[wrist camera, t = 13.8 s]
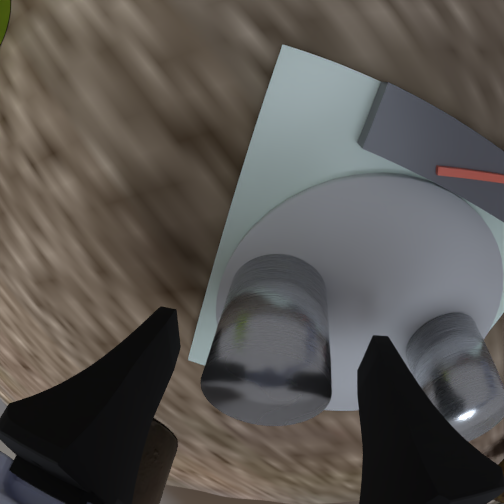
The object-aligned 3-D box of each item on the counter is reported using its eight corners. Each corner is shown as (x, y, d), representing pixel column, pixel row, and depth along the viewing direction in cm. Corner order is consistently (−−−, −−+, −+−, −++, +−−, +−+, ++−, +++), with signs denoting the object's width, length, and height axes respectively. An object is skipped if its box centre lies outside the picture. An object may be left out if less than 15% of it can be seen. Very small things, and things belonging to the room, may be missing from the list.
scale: (284, 47, 10) (280, 40, 8) (554, 198, 11) (580, 219, 9) (192, 350, 19) (180, 380, 17) (403, 402, 19) (408, 430, 17)
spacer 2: (412, 317, 13) (439, 409, 9) (484, 307, 12) (524, 387, 8) (400, 372, 15) (414, 454, 11) (464, 362, 14) (489, 436, 10)
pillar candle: (152, 405, 23) (91, 566, 10) (192, 456, 28) (155, 581, 15) (70, 391, 25) (6, 513, 13) (116, 442, 30) (73, 547, 17)
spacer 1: (233, 246, 13) (199, 340, 8) (336, 262, 12) (348, 362, 8) (228, 322, 15) (202, 414, 10) (315, 335, 14) (314, 431, 10)
